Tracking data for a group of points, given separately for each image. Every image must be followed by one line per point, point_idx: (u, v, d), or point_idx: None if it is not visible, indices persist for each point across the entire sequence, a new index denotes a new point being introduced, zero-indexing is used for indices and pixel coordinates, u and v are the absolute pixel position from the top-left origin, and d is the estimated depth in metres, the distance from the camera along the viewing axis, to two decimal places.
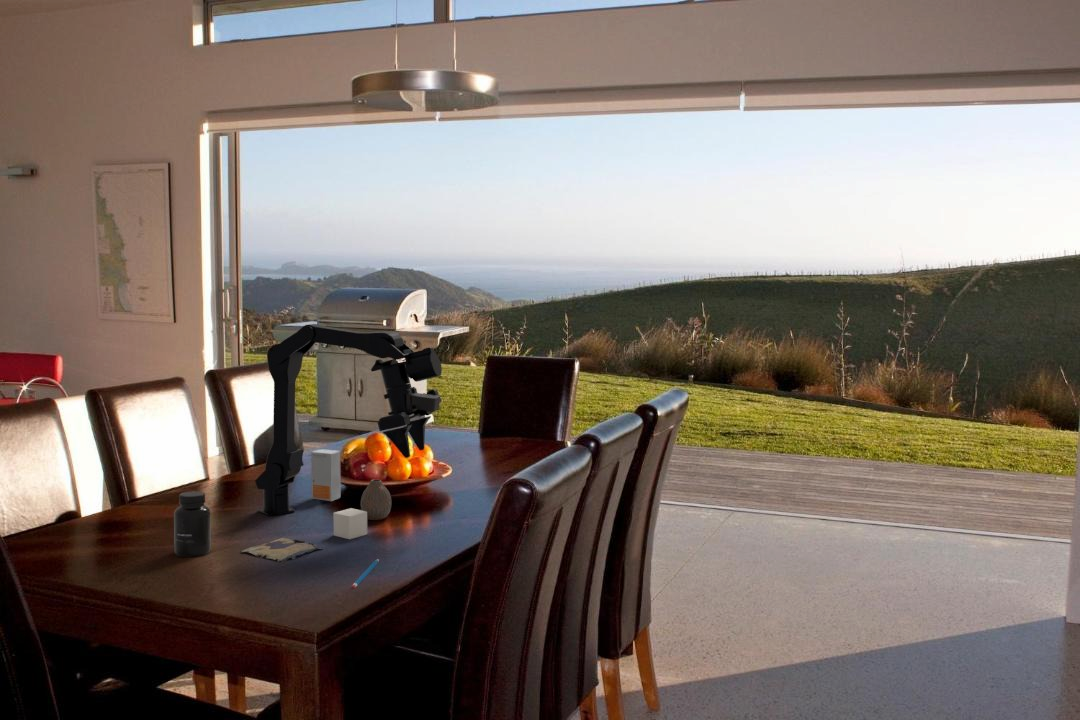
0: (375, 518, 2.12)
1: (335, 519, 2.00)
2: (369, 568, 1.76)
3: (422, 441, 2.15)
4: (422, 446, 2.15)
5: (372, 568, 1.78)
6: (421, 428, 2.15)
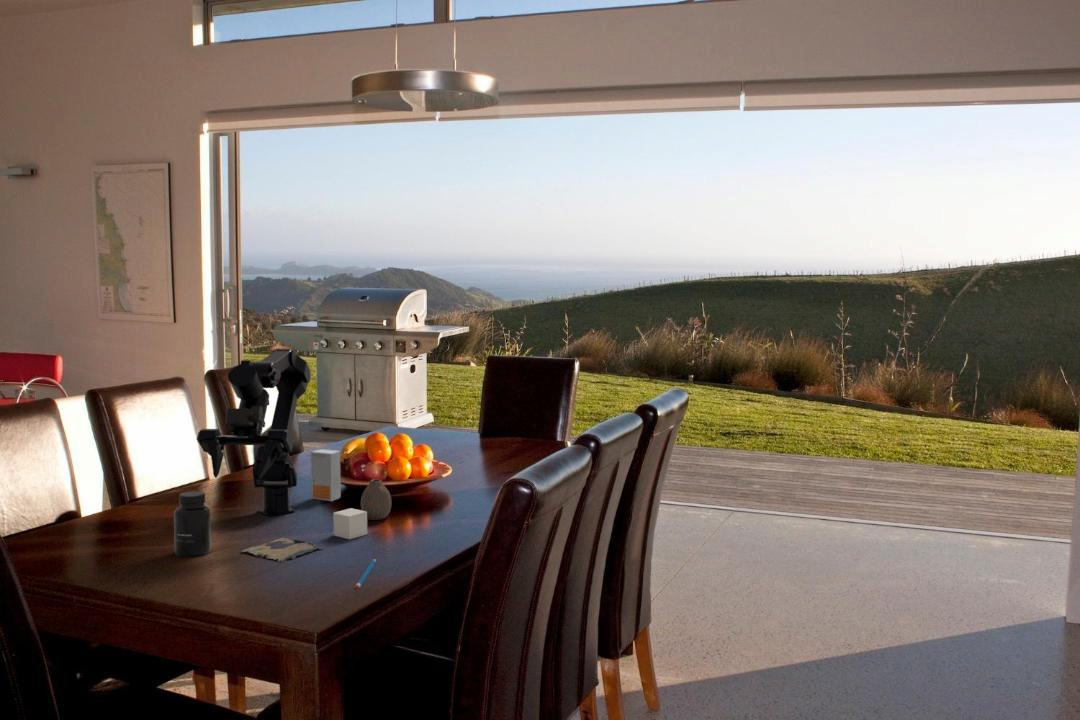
0: (375, 518, 2.12)
1: (335, 519, 2.00)
2: (369, 568, 1.77)
3: None
4: None
5: (371, 568, 1.78)
6: None
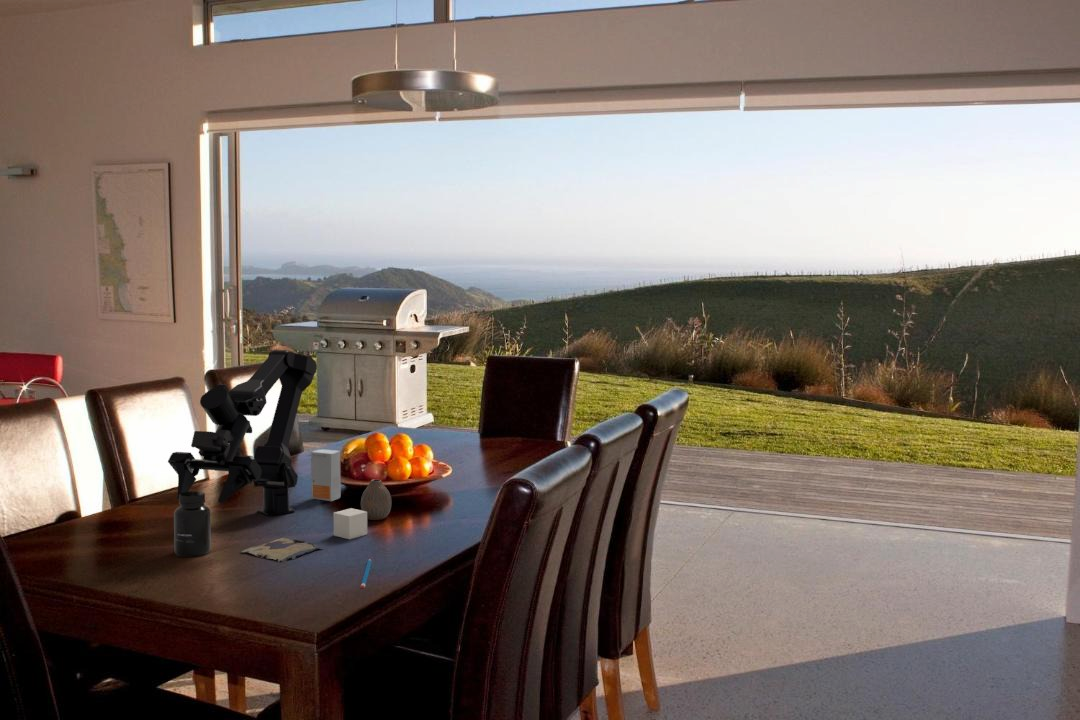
0: (375, 518, 2.12)
1: (335, 519, 2.00)
2: (367, 568, 1.76)
3: None
4: None
5: (369, 568, 1.78)
6: None
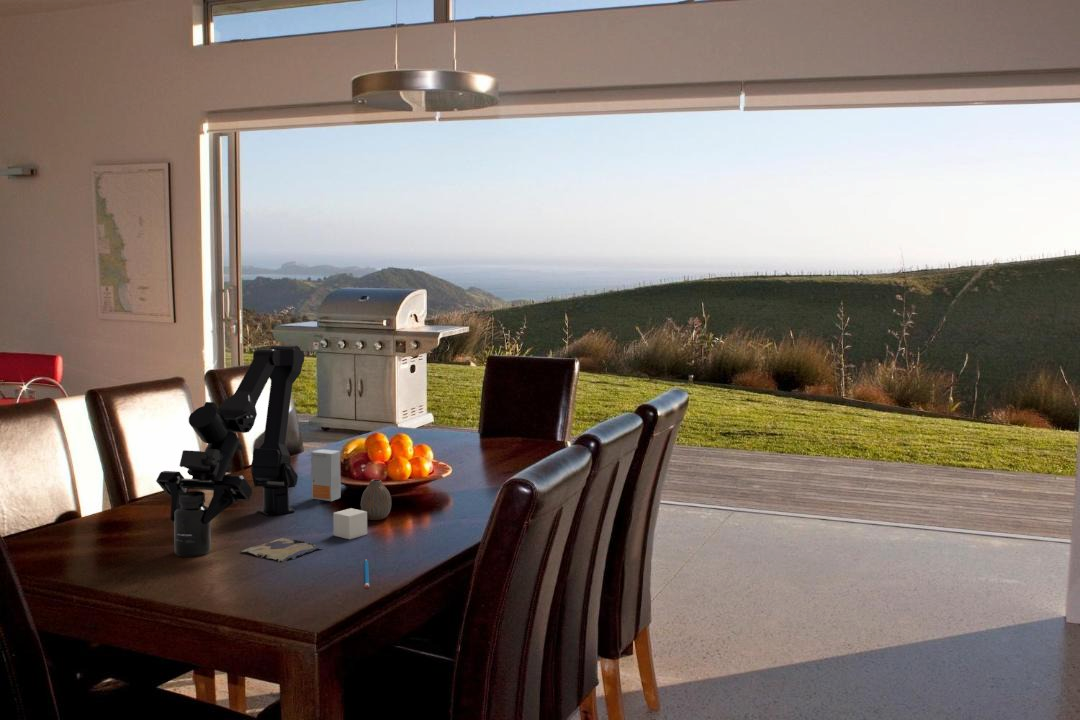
0: (375, 518, 2.12)
1: (335, 519, 2.00)
2: (367, 568, 1.76)
3: None
4: None
5: (368, 568, 1.78)
6: None
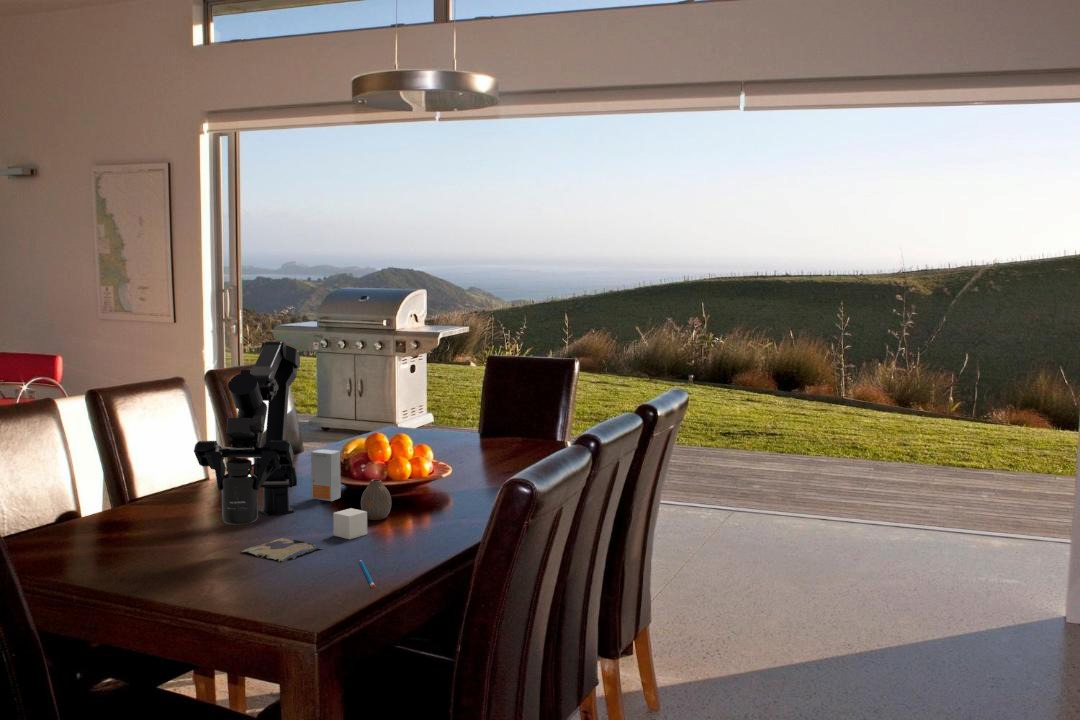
0: (375, 518, 2.12)
1: (335, 519, 2.00)
2: (365, 568, 1.76)
3: (256, 479, 1.86)
4: None
5: (366, 568, 1.78)
6: None
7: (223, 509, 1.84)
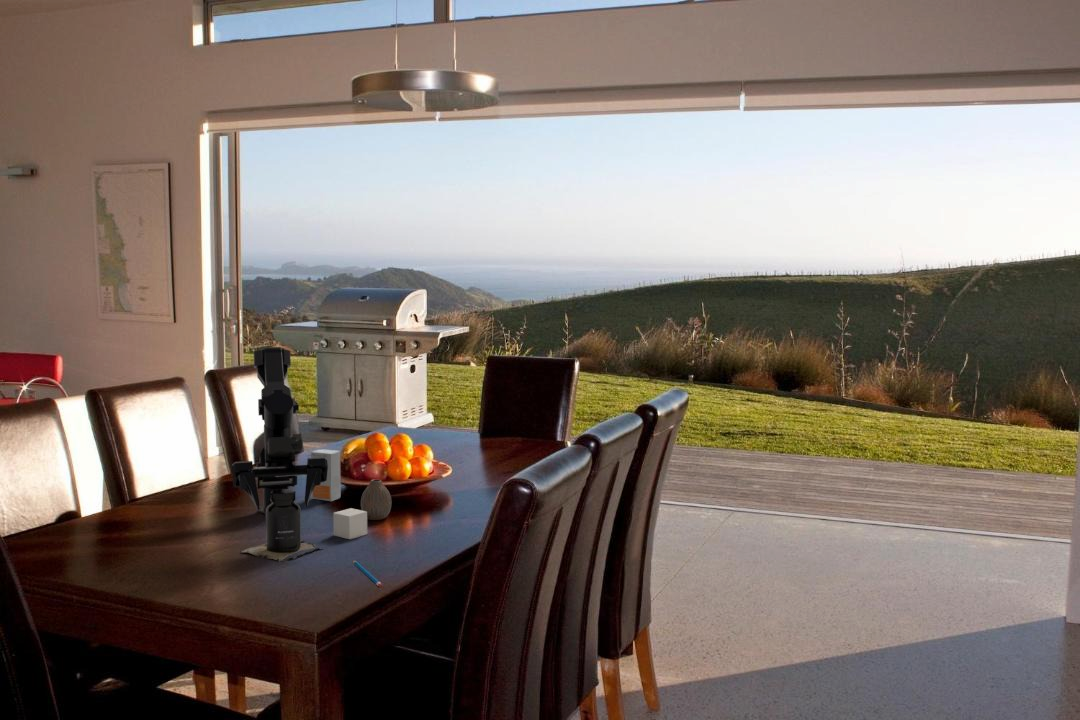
0: (375, 518, 2.12)
1: (335, 519, 2.00)
2: (364, 568, 1.76)
3: (305, 496, 1.89)
4: None
5: None
6: (306, 482, 1.91)
7: (269, 539, 1.87)
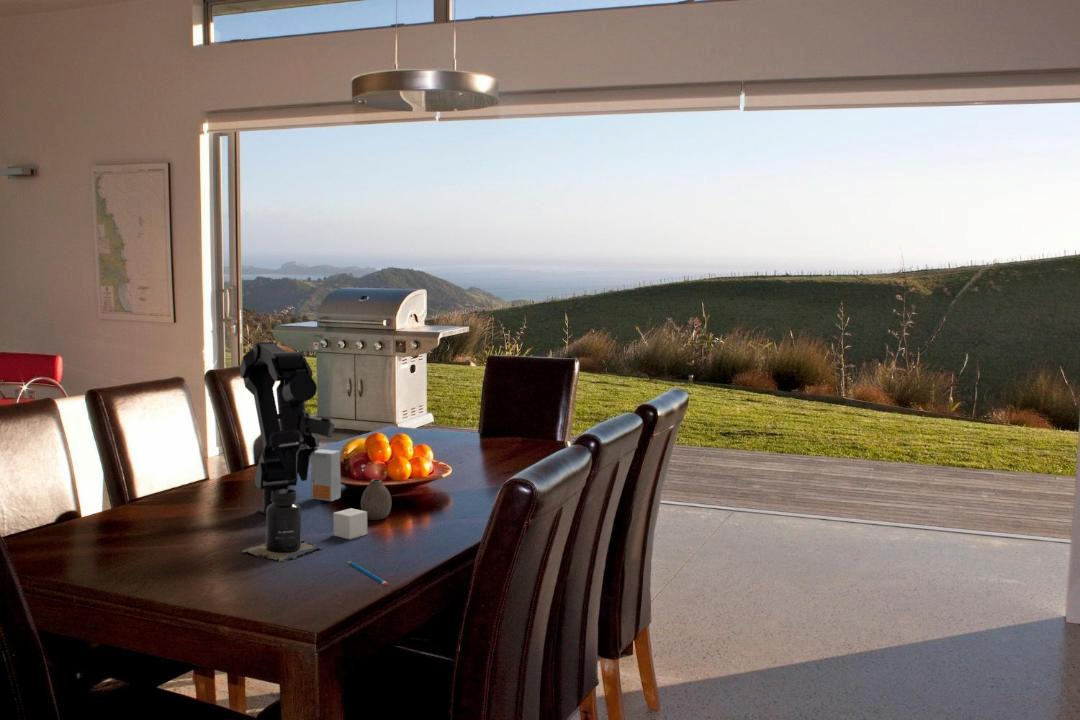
0: (375, 518, 2.12)
1: (335, 519, 2.00)
2: None
3: (306, 471, 2.07)
4: (305, 476, 2.07)
5: None
6: (307, 458, 2.08)
7: (269, 539, 1.87)
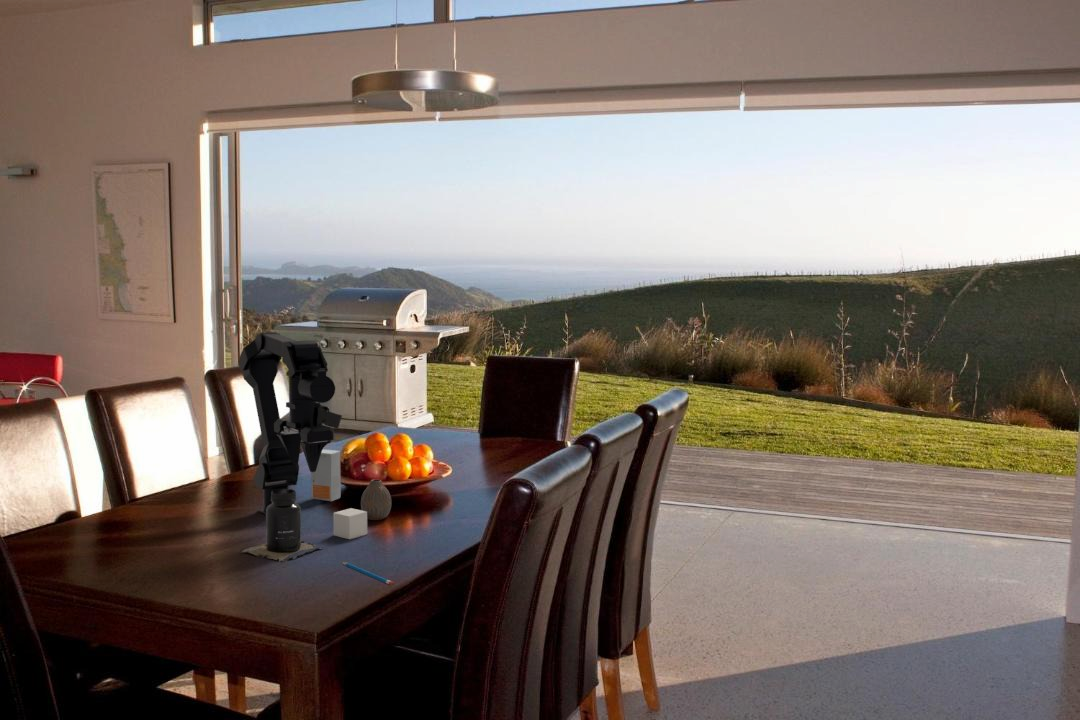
0: (375, 518, 2.12)
1: (335, 519, 2.00)
2: (362, 569, 1.76)
3: (298, 456, 2.10)
4: (297, 461, 2.10)
5: None
6: (299, 443, 2.10)
7: (269, 539, 1.87)
